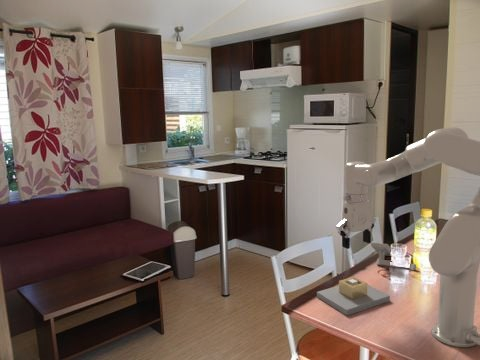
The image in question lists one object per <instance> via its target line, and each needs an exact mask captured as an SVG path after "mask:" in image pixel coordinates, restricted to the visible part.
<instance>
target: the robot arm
mask: <svg viewBox="0 0 480 360" xmlns="http://www.w3.org/2000/svg"><path fill="white" fill-rule="evenodd" d="M439 164H442V165H446V166H448V167H451V168H454V169H457V170H458V171H459V170H460V171H463V172H464V173H468V174H470V175H474V176H476V177H477V176H478V177H480V141H479V140H475V139H472V138H469V136H468V134H467V132H466V131H464V130H463V129H462V128H459V127H456V126H449V127H444V128H439V129H438V128H437V129H435V130H433V131H431V132H430V133H429V134H428V135H427V136H426V137H425V138H422V139H420V140H417V141H415V142H413V143H410V144H409V145H407V146H406V147H405V150H404V151H403V152H401V153H399V154H397V155H394V156H392V157H389V158H388V159H386V160H382V161H378V162H373V163H369V164H368V163H366V162H364V161H349V162H347V163H345V166H344V193H345V194H344V196H343V200H344V202H343V207H342V216H341V217H342V218H341V221H340V222H339V223H338V224H337V225H336V226H335V229H336V230H337V233H338V234H339V235H340V237H341V238H342V239H341V241H342V242H341V247H342V248H344V249H346V250H347V249H349V250H350V249H351V241H350V240H351V238H350V235H351V233H357V232H361V231H362V241H363V243H367V244H371V242H372V241H371V240H372V239H371V237H372V236H371V235H372V232H373V229H374V227H375V224H376V222H377V221H376V220H377V218H375V217H374V216H373V215H372V207H371V202H370V200H369V197H368V195H369V192H368V191H369V190H368V189H369V187H371V188H375V187H378V186H382V185H385V184H389V183H392V182H394V181H397V180H399V179H401V178H404V177H407V176H409V175H412V174H414V173H419V172H421V171H424V170H426V169H429V168H431V167H434V166H437V165H439ZM428 262H429V265H430V267H431V269H432V270H433V271H434V272H435V273H437V274H438V275H440V276H439V286H438V287H439V289H438V304H437V305H438V309H437V322H436V323H435V324H433V325H432V326H431V334H432V336H433V337H434V338H435V339H436V340H438V341H439V342H441V343H443V344H445V345H449V346H452V347H457V348H472V347H474V346H476V345H477V346H479V347H480V333H479V331H478V326H476V325H475V324H474V323H475V312H476V311H475V309H476V295H477V294H476V292H477V286H478V285H477V281H478V274H479V269H480V187H479V188H478V189H477V191H476V194H475V195H474V197H472V199H471V201H470V202H469V203H468V205H466V206H465V207H463V208H462V209H461V210H458V211H457V212H455V213H453V214H452V215H451V216H450V217H449V219H448V220H447V221H446V223H445V224H444V226H443V228H442V229H441V230H440V233H439V234H438V236H437V238H436V239H435V240H434V242H433V244H432V246H431V247H430V250H429V253H428Z"/></svg>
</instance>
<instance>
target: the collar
mask: <svg viewBox="0 0 480 360" xmlns="http://www.w3.org/2000/svg"><path fill="white" fill-rule="evenodd" d="M351 279H354V280H356V281H358V284H357V285H354V286H352V285H350V284H348V280H351ZM367 284H368V283H367V282H366V281H363V280H361V279H359V278H357V277H356V276H351V277H348V278H344V279H340V280H338V286H339V293H341V294H343V295H345V296H346V297H348V298H350V299H352V300H354V299H357V298H360V297H363V296H366V295H367Z"/></svg>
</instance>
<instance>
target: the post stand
mask: <svg viewBox="0 0 480 360" xmlns="http://www.w3.org/2000/svg"><path fill="white" fill-rule="evenodd" d="M348 284H350V285H352V286H354V285H357V284H358V281H356V280H354V279H351V280H348ZM316 297H317V298H318V299H320V300H321V301H323V302H325V303H326V304H328V305H329V306H330V307H332V308H334V309H335V310H337V311H339V312H340V313H342V314H343V315H345V316H349V315H353V314H355V313H358V312H361V311H364V310H366V309H369V308H373V307H376V306H378V305H381V304H384V303H385V304H386V303H387V302H390V299H391V295H389V294H387V293H386V292H383V291H381V290H380V289H378V288H376V287H374V286H371V285H370V284H368V283H367V295H366V296H363V297H360V298H357V299H354V300H352V299H350V298H348V297H346V296H345V295H343V294H341V293H339V285H335V286H333V287H332V286H331V287H329V288H325V289H322V290H319V291H316Z"/></svg>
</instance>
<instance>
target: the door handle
mask: <svg viewBox="0 0 480 360" xmlns="http://www.w3.org/2000/svg"><path fill="white" fill-rule="evenodd" d="M370 245H371V248H373V250H374V251H376V253H378V258H377V259H376V265H377V266H381V267H384V266H388V267H389V266H390V261H391V260H387V259H385V257H391V256H390V252H391V249H392V248H391V246H390V245H389V244H388V243H380V242H372V241H371V243H370ZM409 264H410V269H409V270H410V271H416V270H417V264H416V263H409ZM390 267H391V266H390Z"/></svg>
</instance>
